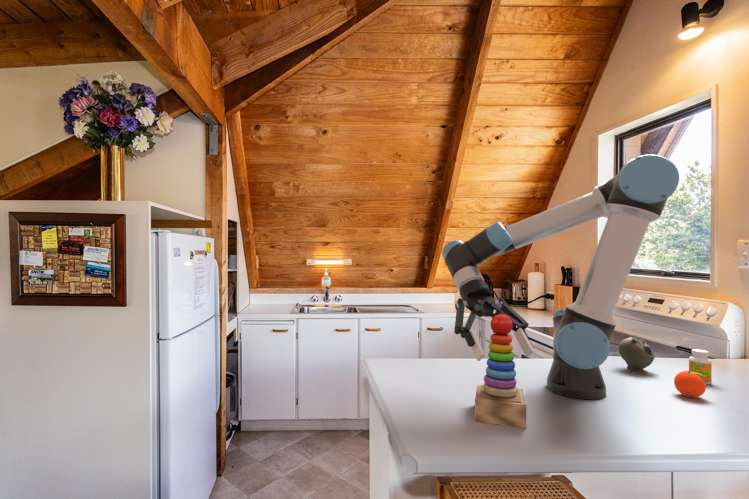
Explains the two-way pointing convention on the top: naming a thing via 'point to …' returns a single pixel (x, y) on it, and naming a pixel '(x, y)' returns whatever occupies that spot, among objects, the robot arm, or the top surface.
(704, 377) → the supplement bottle
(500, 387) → the stacking toy
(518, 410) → the wooden block
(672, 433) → the top surface
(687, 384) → the clementine
